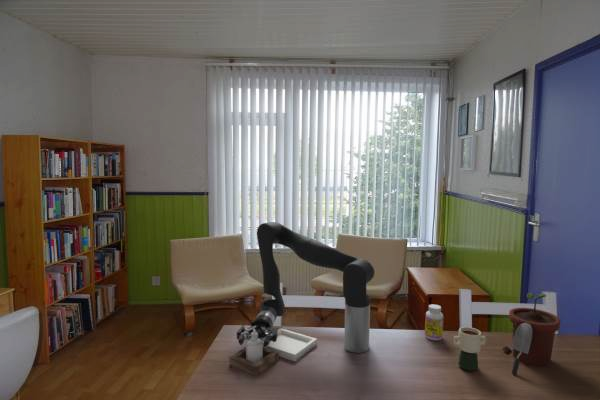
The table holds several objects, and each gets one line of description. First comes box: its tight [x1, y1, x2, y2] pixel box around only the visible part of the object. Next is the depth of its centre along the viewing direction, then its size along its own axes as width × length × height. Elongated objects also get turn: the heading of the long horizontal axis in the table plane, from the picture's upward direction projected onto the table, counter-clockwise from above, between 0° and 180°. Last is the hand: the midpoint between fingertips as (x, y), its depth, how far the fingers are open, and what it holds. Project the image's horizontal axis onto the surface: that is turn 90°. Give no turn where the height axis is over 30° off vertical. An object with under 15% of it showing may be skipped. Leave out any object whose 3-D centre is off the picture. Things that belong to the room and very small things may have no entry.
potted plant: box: [502, 292, 562, 375], centre depth 141 cm, size 18×22×25 cm
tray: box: [261, 328, 318, 362], centre depth 151 cm, size 15×17×2 cm
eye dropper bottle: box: [245, 329, 263, 363], centre depth 138 cm, size 4×6×12 cm
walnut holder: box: [228, 346, 279, 376], centre depth 139 cm, size 12×12×3 cm
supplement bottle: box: [424, 303, 444, 341], centre depth 159 cm, size 7×7×13 cm
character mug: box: [452, 326, 487, 371], centre depth 136 cm, size 11×7×13 cm, turn 91°
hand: (252, 343), depth 136 cm, fingers open, 8 cm apart
